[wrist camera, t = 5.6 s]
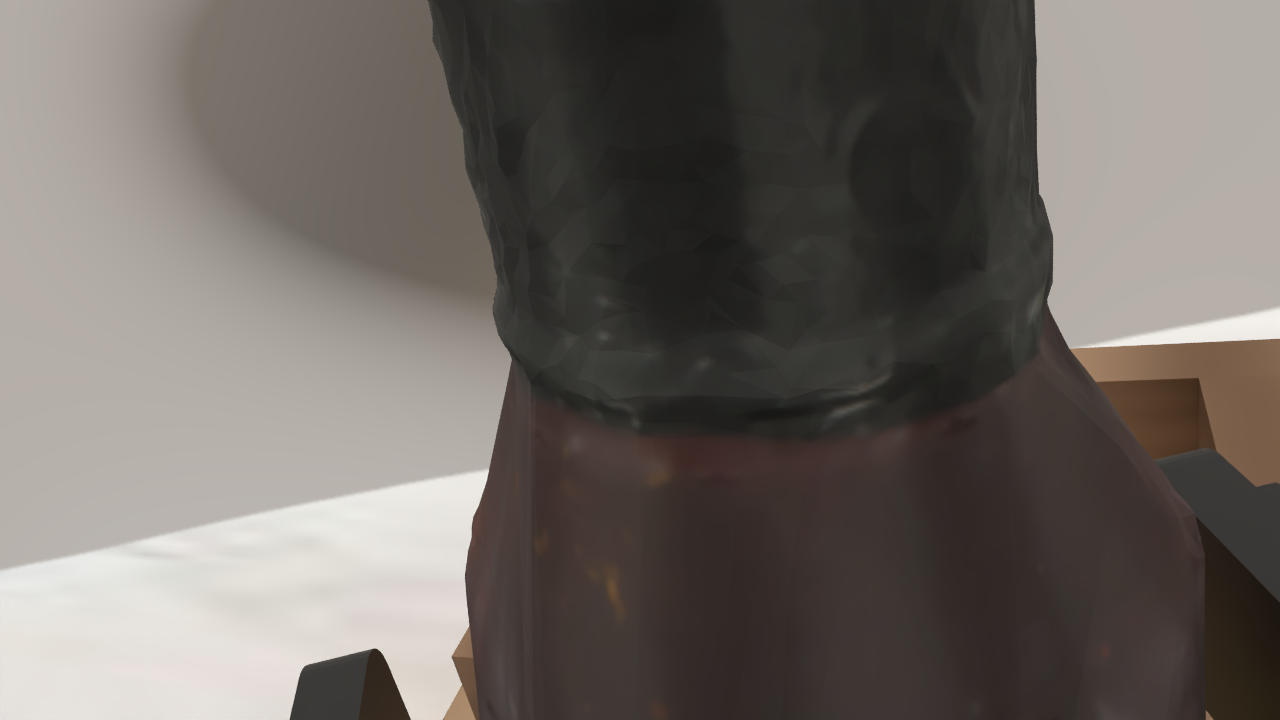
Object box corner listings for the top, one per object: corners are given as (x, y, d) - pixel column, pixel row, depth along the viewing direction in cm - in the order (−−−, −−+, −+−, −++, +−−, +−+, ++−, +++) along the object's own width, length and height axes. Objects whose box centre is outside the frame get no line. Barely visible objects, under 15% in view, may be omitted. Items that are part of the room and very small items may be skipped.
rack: (390, 906, 23) (296, 709, 21) (579, 537, 33) (531, 374, 31) (1595, 1071, 16) (1673, 807, 14) (1380, 542, 26) (1403, 333, 24)
